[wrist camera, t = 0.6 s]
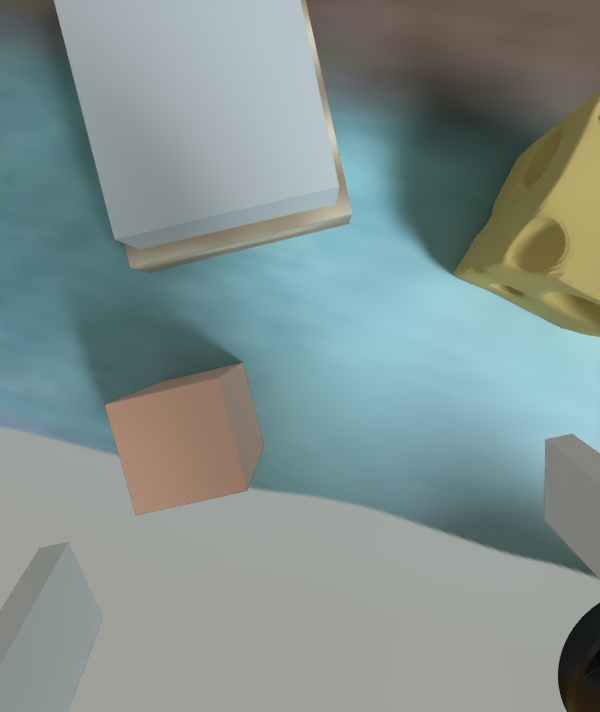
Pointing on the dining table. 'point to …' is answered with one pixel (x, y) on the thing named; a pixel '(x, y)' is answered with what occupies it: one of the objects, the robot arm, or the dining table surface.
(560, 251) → the cheese
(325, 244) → the dining table surface
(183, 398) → the terracotta block
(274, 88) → the tower top
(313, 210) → the tower base
